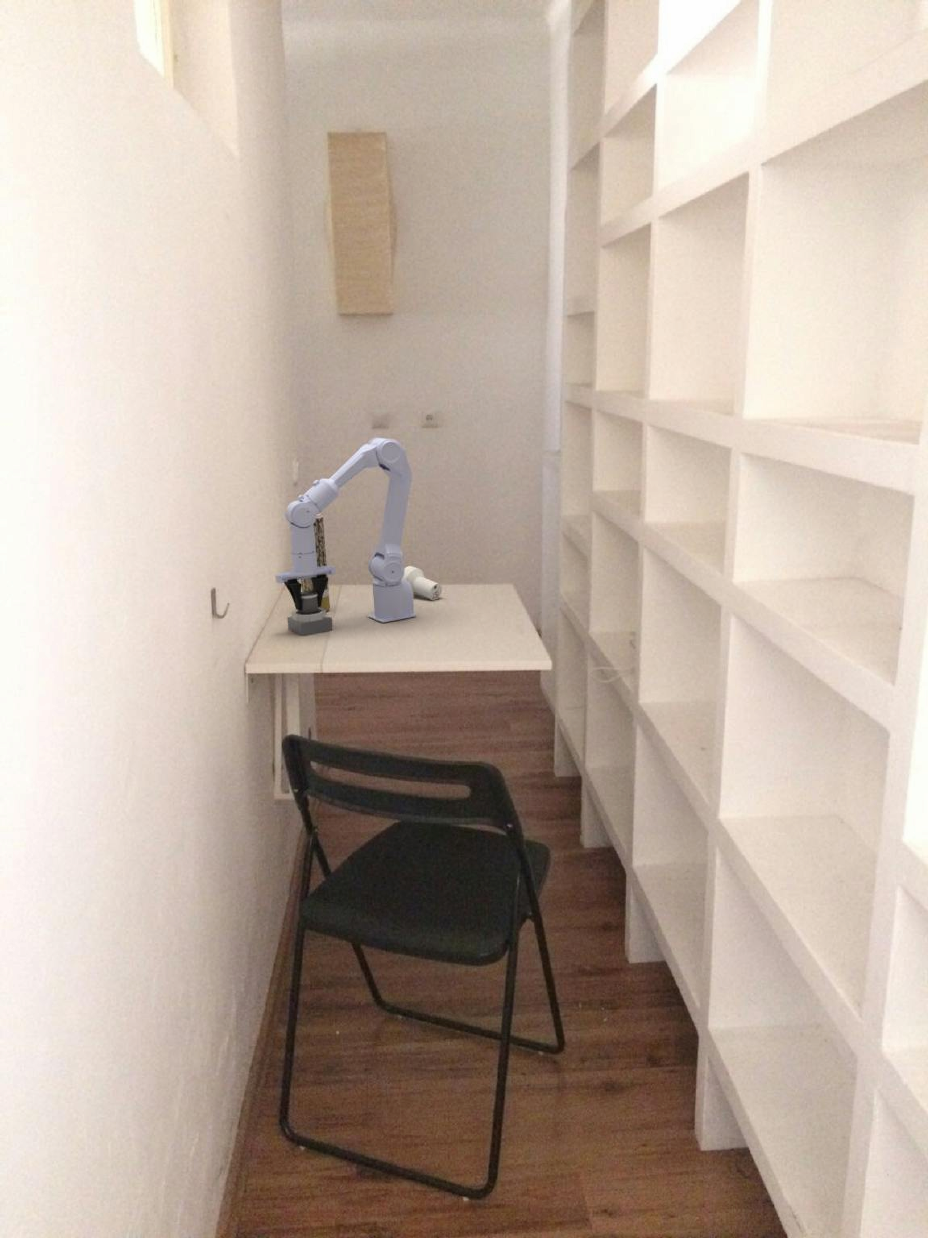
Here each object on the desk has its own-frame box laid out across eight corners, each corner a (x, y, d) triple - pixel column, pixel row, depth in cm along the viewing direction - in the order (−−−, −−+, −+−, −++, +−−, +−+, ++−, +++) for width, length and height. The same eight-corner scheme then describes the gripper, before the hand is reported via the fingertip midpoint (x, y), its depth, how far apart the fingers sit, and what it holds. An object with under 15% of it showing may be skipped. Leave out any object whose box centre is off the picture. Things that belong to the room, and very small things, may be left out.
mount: (318, 623, 239) (317, 605, 238) (332, 630, 232) (331, 611, 231) (288, 629, 235) (286, 611, 234) (301, 636, 228) (300, 617, 227)
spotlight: (416, 586, 268) (415, 560, 264) (447, 599, 262) (446, 573, 258) (396, 597, 263) (394, 571, 259) (426, 611, 257) (425, 584, 252)
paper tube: (332, 607, 254) (325, 512, 248) (326, 614, 248) (319, 517, 241) (307, 608, 255) (299, 513, 249) (300, 614, 248) (292, 517, 242)
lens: (313, 613, 236) (311, 589, 234) (322, 617, 232) (320, 592, 230) (297, 617, 233) (294, 592, 231) (305, 620, 229) (303, 595, 228)
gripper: (324, 545, 236) (329, 599, 239) (268, 553, 228) (273, 609, 232) (337, 549, 230) (341, 605, 233) (280, 558, 222) (285, 615, 226)
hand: (308, 607), depth 232 cm, fingers closed on lens, 4 cm apart
